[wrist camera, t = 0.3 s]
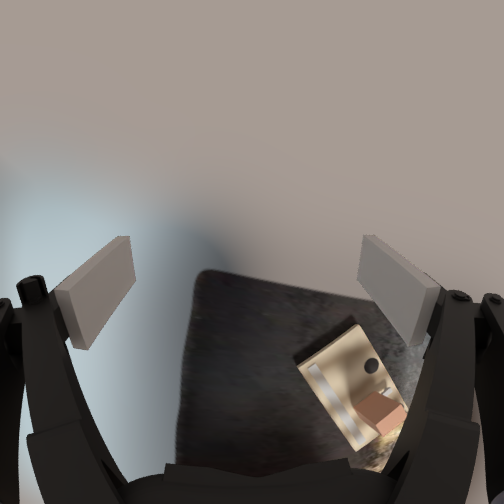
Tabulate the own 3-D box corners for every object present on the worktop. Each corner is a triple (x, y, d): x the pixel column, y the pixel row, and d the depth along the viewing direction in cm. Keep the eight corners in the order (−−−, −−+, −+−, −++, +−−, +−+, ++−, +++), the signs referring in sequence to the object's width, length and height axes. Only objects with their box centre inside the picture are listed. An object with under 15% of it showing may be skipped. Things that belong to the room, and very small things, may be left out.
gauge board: (403, 407, 44) (414, 413, 40) (352, 447, 42) (360, 456, 38) (354, 324, 48) (364, 324, 44) (296, 366, 46) (301, 370, 42)
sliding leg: (391, 393, 43) (419, 405, 33) (359, 418, 42) (383, 437, 32) (385, 382, 43) (413, 393, 34) (352, 407, 42) (375, 425, 33)
